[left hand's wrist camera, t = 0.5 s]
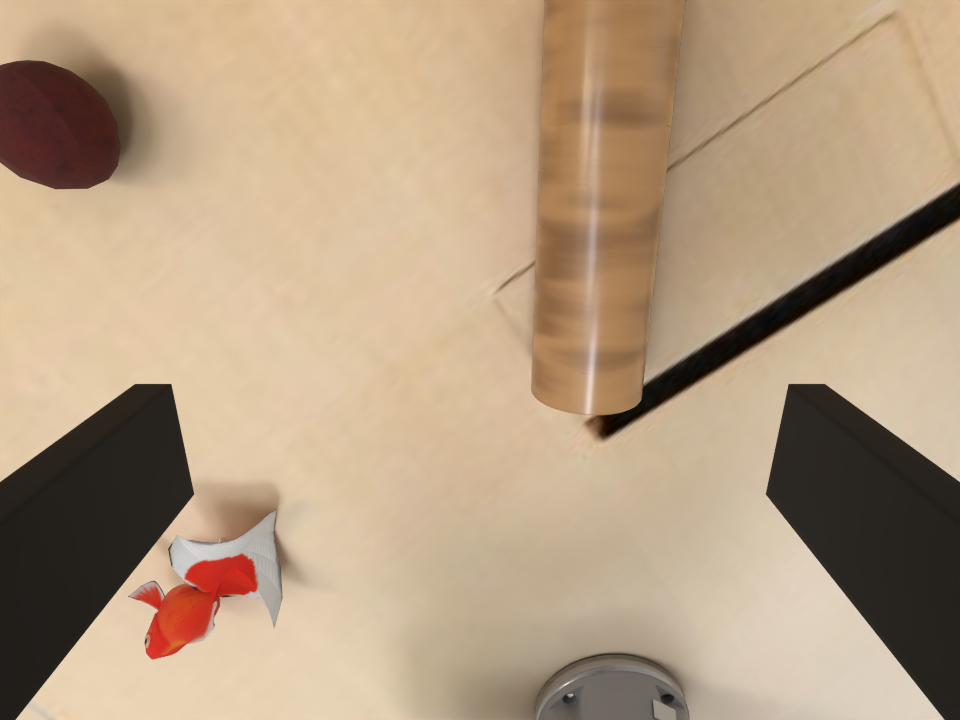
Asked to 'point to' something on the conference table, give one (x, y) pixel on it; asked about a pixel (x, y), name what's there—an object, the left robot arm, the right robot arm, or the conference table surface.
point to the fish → (211, 585)
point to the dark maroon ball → (55, 127)
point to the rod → (600, 196)
